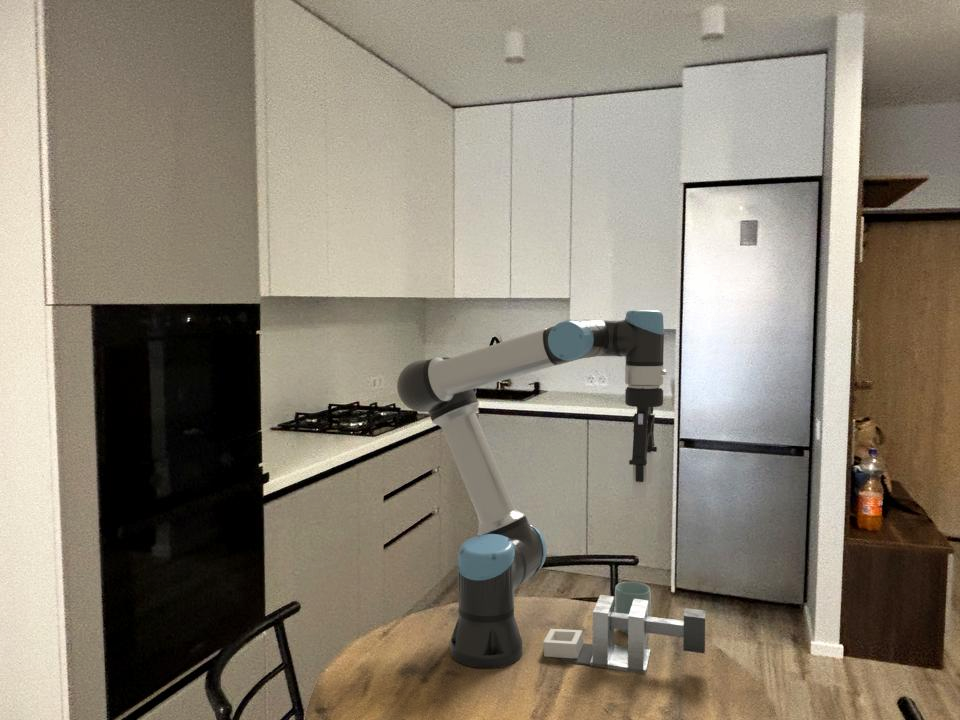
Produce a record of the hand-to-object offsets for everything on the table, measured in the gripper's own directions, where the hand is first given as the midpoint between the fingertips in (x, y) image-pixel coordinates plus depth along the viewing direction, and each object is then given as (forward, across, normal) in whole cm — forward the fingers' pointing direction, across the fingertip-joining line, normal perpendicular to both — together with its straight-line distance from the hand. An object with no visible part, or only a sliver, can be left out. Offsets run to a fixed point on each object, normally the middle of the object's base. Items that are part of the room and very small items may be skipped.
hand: (643, 490), depth 149 cm
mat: (+35, -3, +12) cm, 37 cm away
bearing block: (+35, -3, +4) cm, 35 cm away
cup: (+35, +11, +3) cm, 37 cm away
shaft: (+30, -3, -2) cm, 30 cm away
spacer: (+33, -3, +16) cm, 37 cm away
